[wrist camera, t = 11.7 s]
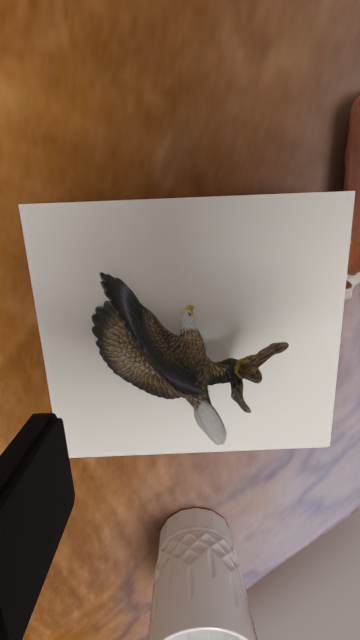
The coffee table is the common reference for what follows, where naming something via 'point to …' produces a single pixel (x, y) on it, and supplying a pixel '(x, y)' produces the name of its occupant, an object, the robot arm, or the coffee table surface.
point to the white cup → (198, 582)
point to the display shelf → (195, 313)
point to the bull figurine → (356, 179)
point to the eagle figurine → (169, 356)
